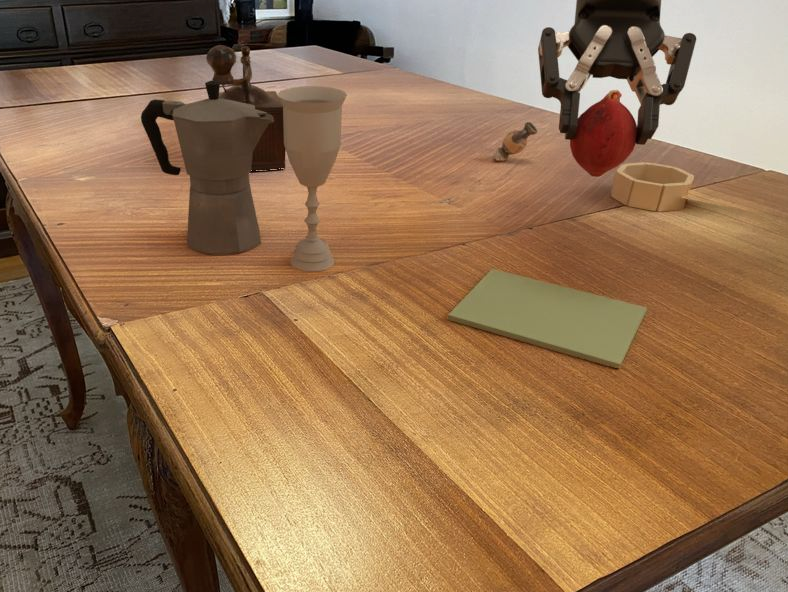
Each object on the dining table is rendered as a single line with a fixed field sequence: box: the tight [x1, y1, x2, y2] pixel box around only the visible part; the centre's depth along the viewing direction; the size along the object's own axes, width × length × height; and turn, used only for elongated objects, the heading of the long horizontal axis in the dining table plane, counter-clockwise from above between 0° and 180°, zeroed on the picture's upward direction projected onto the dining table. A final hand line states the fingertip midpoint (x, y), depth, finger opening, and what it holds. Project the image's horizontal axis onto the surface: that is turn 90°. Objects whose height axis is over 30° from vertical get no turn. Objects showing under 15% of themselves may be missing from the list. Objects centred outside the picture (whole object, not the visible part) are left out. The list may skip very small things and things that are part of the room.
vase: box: [492, 121, 538, 162], centre depth 109 cm, size 5×5×6 cm
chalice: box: [277, 85, 348, 272], centre depth 74 cm, size 7×7×18 cm
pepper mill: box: [205, 44, 286, 171], centre depth 102 cm, size 16×11×18 cm
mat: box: [447, 268, 648, 369], centre depth 69 cm, size 16×12×1 cm
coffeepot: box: [140, 79, 274, 256], centre depth 79 cm, size 15×9×18 cm, turn 75°
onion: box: [569, 89, 638, 178], centre depth 66 cm, size 6×6×8 cm
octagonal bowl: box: [610, 161, 695, 213], centre depth 96 cm, size 9×9×4 cm
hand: (606, 137), depth 64 cm, fingers closed on onion, 5 cm apart
